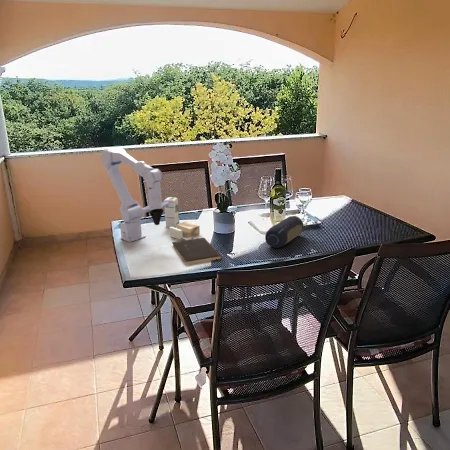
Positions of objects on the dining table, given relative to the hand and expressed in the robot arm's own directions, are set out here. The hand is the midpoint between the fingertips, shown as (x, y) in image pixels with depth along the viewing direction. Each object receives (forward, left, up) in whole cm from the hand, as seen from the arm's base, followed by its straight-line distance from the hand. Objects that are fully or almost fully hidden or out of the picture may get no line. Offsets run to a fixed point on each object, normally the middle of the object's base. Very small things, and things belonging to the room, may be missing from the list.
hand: (156, 224), depth 198 cm
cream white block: (+11, -2, -9) cm, 15 cm away
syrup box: (+21, +15, -10) cm, 28 cm away
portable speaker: (+42, -43, -10) cm, 60 cm away
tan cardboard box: (+13, -1, -9) cm, 16 cm away
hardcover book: (+5, -21, -10) cm, 24 cm away
